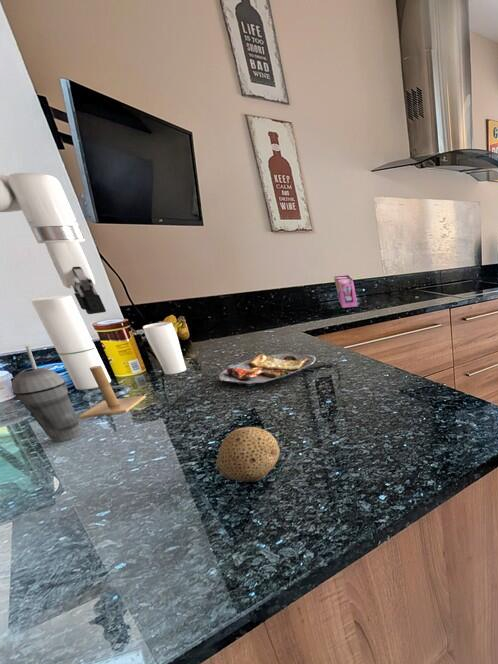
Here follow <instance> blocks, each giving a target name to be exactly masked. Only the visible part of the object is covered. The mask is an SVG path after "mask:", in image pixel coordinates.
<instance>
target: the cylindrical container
mask: <svg viewBox="0 0 498 664" xmlns="http://www.w3.org/2000/svg"><path fill="white" fill-rule="evenodd" d="M30 302H31V304H32V306H33V308H34V310H35V311H36V313H37V315H38V318H40V321H41V323H42V325H43V327H44V329H45V331H46V333H47V335H48V337H49V338H50V341H51V343H52V345H53V347H54V348H55V350H56V352H57V354H58V356H59V358H60V360H61V362H62V364H63V367H64V368H65V370H66V372H67V375H68V376H69V377H70V380H71V382H72V383H73V386H74V387H75V389H76V390H82V391H83V390H84V391H85V390H90V389H95V388H96V389H97V388H99V387H98V385H97V383H96V381H95V379H94V377H93V375H92V372H91V370H90V368H91V367H93V366H102V368H103V371H104V373H105V375H106V377H107V379H108V381H109V383H110V384H111V382H112V379H111V377H110V375H109V373H108V371H107V368H106V366H105V364H104V362H103V360H102V358H101V356H100V354H99V352H98V349H97V348H96V345H95V343H94V341H93V339H92V336H91V335H90V333H89V331H88V328H87V326H86V323H85V321H84V319H83V317H82V316H81V314H80V311H79V308H78V307H77V304H76V303H75V301H74V299H73V296H72V294H63V295H62V294H61V295H52V296H50V295H49V296H42V297H36V298H32V299H30Z"/></svg>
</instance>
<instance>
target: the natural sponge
mask: <svg viewBox="0 0 498 664" xmlns="http://www.w3.org/2000/svg"><path fill="white" fill-rule="evenodd" d="M217 453H218V454H217V458H216V462H215V467H216V469H217V471H218V472H219V474H220V476H222V477H223V478H226V479H230V480H235V481H238V482H249V483H251V482H253V483H254V482H258V481H261V480H262V479H264V478H265V477H266V476H267V475H268V474H269V473H270V471H271V470H272V469H273V468H274V467H275V466H276V464H277V462H278V460H279V456H280V454H281V451H280V446H279V443H278V441H277V439H276V438H275V437H274V436H273V435H272V434H271V433H270V432H269V431H268V430H266V429H264V428H261V427H257V426H246V427H244V426H243V427H238V428H236V429H234V430H232V431H231V432H229V433H228V434H227V435H226V436H225V438H223V440H222V442H221V444H220V447H219V449H218V452H217Z"/></svg>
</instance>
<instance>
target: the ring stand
mask: <svg viewBox="0 0 498 664" xmlns="http://www.w3.org/2000/svg"><path fill="white" fill-rule="evenodd" d="M90 370H91V372H92V375H93V377H94V379H95V381H96V383H97V385H98V387H97V388H98V389H100V391H101V392H100V393H101V395H102V396H103V397H104V399H105V400H101V401H100V402H98V403H96V404H95V405H94V406H92V407H91V408H89V409H88V410H86V411H85V412H83V413H82V414H80V415H79V416H78V419H85V418H93V417H100V416H109V415H116V414H123V413H127V412H129V411H130V410H131V409H133V408H134V407H136V406H137V405H138V404H140V403H141V402H143V400H145V399H146V398H147V396H146V395H138V396H137V395H136V396H129V397H121V398H117V397H116V396H115V394H114V393H115V391H114V390H112V387H111V386H112V385H111V382H110V383H109V381H108V379H107V377H106V375H105V373H104V371H103V368H102V366H93V367H91V368H90Z"/></svg>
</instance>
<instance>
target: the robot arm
mask: <svg viewBox="0 0 498 664" xmlns="http://www.w3.org/2000/svg"><path fill="white" fill-rule="evenodd" d="M19 211H22V213H23V216H24V218H25V220H26V222H27V224H28V226H29V227H30V230H31V232H32V234H33V236H34V238H35V240H36V242H37V244H45V247H46V249H47V253H48V254H49V257H50V259H51V261H52V263H53V266H54V268H55V270H56V272H57V274H58V276H59V279H60V281H61V283H62V285H63V286H64V287H65V288H67V289H73V292H74V296H75V298H76V301H77V303H78V304H79V307H80V308H81V310H85V312H86V314H88V315H95V314H101V313H106V311H107V310H106V307H105V305H104V302H103V301H102V299H101V297H100V295H99V294H98V292H97V290H96V288H95V287H94V286H95V285H96V284H97V283H96V279H95V277H94V275H93V271H92V270H91V267H90V265H89V262H88V260H87V257H86V255H85V253H84V251H83V249H82V245H81V244H80V242H86V238H85V236H84V234H83V233H82V229H81V227H80V226H79V223H78V221H77V219H76V216H75V214H74V212H73V209H72V207H71V204H70V203H69V200H68V198H67V195H66V193H65V191H64V189H63V187H62V185H61V182H60V180H58V179H57V178H56V177H55V176H53V175H50V174H46V173H36V172H15V173H11V174H8V175H5V174H4V175H3V174H0V213H12V212H19Z"/></svg>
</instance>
